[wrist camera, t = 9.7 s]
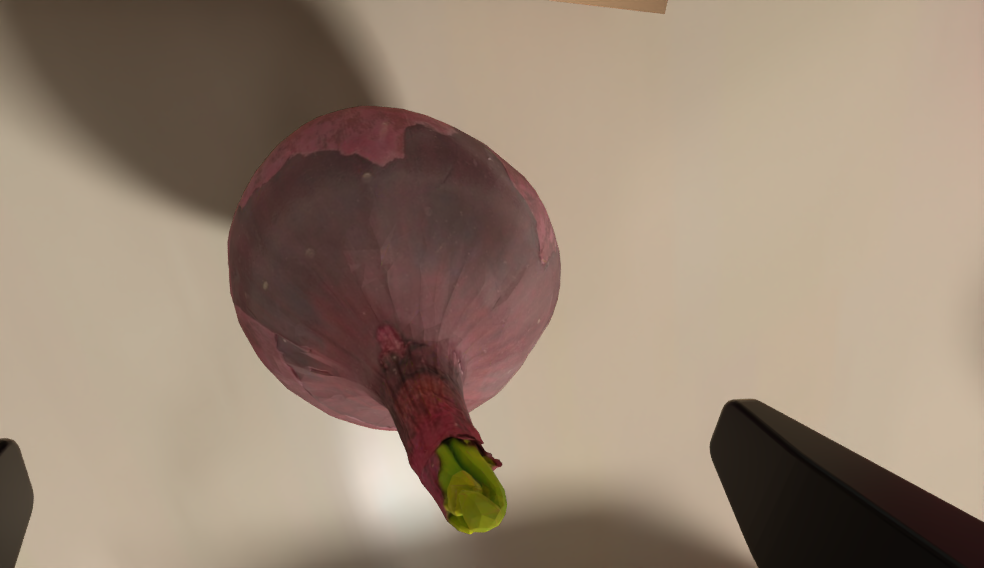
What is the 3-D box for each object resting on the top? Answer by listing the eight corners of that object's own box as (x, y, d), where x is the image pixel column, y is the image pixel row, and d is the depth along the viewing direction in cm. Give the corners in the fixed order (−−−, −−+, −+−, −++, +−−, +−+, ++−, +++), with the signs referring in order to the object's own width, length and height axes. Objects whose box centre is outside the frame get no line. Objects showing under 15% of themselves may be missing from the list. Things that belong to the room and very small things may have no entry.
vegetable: (450, 331, 18) (557, 708, 9) (220, 269, 15) (75, 699, 7) (548, 133, 15) (812, 387, 7) (296, 23, 13) (219, 203, 4)
